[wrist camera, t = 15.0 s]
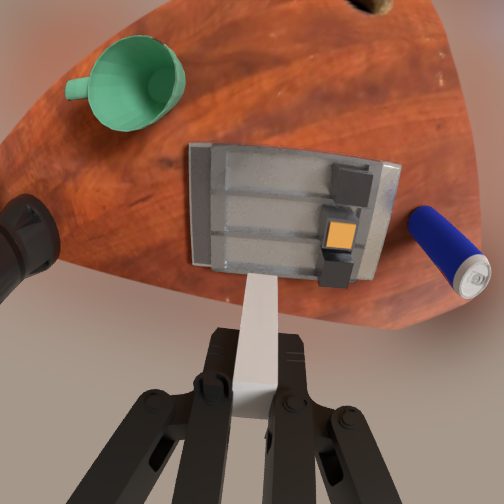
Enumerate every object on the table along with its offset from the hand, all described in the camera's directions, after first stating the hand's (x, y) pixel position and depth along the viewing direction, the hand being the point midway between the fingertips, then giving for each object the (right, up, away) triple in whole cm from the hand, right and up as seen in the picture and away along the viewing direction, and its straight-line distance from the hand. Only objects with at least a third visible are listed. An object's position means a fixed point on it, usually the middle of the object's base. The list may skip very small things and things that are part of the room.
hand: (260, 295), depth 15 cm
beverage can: (+24, +7, +20) cm, 32 cm away
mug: (-13, +23, +15) cm, 30 cm away
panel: (+5, +7, +22) cm, 23 cm away
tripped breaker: (+10, +6, +20) cm, 23 cm away
